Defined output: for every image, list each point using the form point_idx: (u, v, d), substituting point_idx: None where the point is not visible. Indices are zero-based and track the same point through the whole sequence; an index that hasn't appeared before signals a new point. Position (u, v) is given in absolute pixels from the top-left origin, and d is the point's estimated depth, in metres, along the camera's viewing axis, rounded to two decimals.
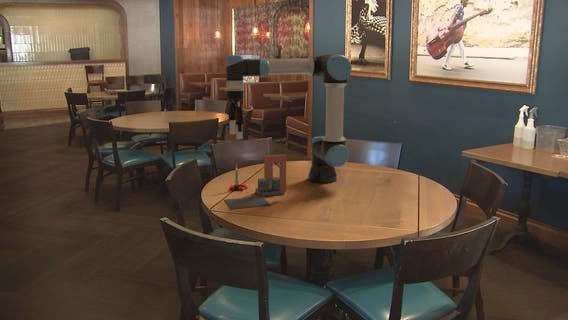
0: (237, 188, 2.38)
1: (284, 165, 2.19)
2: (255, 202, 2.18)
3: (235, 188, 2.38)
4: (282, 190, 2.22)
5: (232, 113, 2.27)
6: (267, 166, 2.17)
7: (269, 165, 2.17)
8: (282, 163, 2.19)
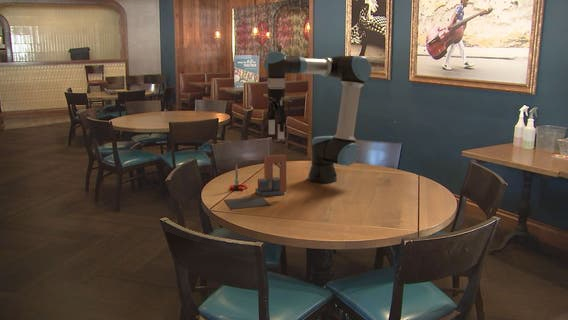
0: (237, 188, 2.38)
1: (284, 165, 2.19)
2: (255, 202, 2.18)
3: (235, 188, 2.38)
4: (282, 190, 2.22)
5: (272, 112, 2.18)
6: (267, 166, 2.17)
7: (269, 165, 2.17)
8: (282, 163, 2.19)
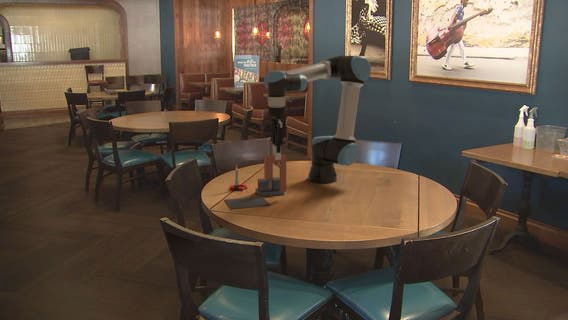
0: (237, 188, 2.38)
1: (284, 165, 2.19)
2: (255, 202, 2.18)
3: (235, 188, 2.38)
4: (282, 190, 2.22)
5: (274, 133, 2.17)
6: (267, 166, 2.17)
7: (269, 165, 2.17)
8: (282, 163, 2.19)
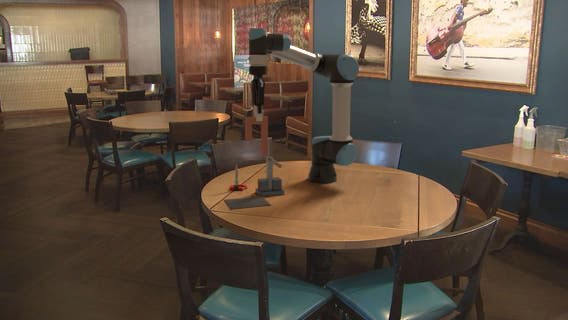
0: (237, 188, 2.38)
1: (265, 127, 2.13)
2: (255, 202, 2.18)
3: (235, 188, 2.38)
4: (263, 153, 2.15)
5: (256, 94, 2.11)
6: (248, 127, 2.11)
7: (250, 126, 2.11)
8: (263, 125, 2.13)
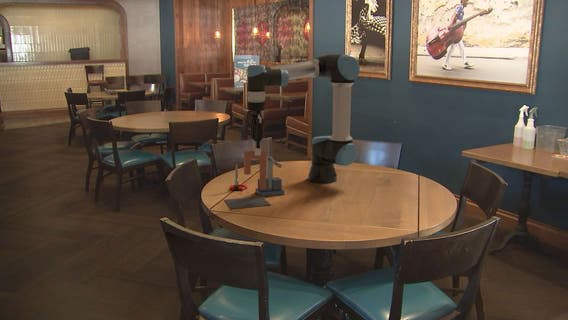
0: (237, 188, 2.38)
1: (264, 161, 2.16)
2: (255, 202, 2.18)
3: (235, 188, 2.38)
4: (262, 186, 2.19)
5: (254, 128, 2.15)
6: (246, 162, 2.14)
7: (248, 161, 2.14)
8: (262, 159, 2.16)
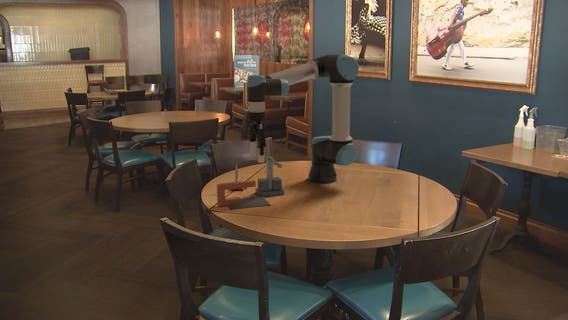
0: None
1: (228, 186, 2.13)
2: (255, 202, 2.18)
3: None
4: (253, 185, 2.17)
5: (253, 135, 2.18)
6: (228, 203, 2.15)
7: (227, 201, 2.14)
8: (225, 188, 2.13)
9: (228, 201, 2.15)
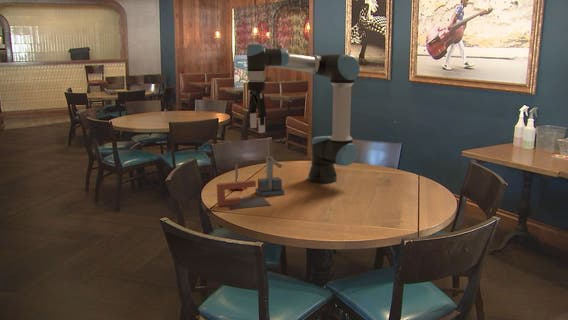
0: (237, 188, 2.38)
1: (228, 185, 2.13)
2: (255, 202, 2.18)
3: None
4: (253, 185, 2.17)
5: (253, 106, 2.16)
6: (228, 203, 2.15)
7: (227, 201, 2.14)
8: (225, 188, 2.13)
9: (228, 201, 2.15)
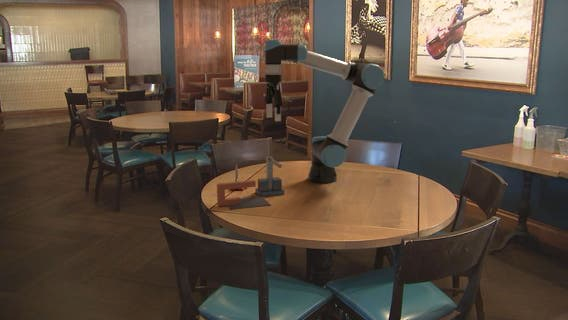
0: (237, 188, 2.38)
1: (228, 185, 2.13)
2: (255, 202, 2.18)
3: None
4: (253, 185, 2.17)
5: (269, 97, 2.35)
6: (228, 203, 2.15)
7: (227, 201, 2.14)
8: (225, 188, 2.13)
9: (228, 201, 2.15)
